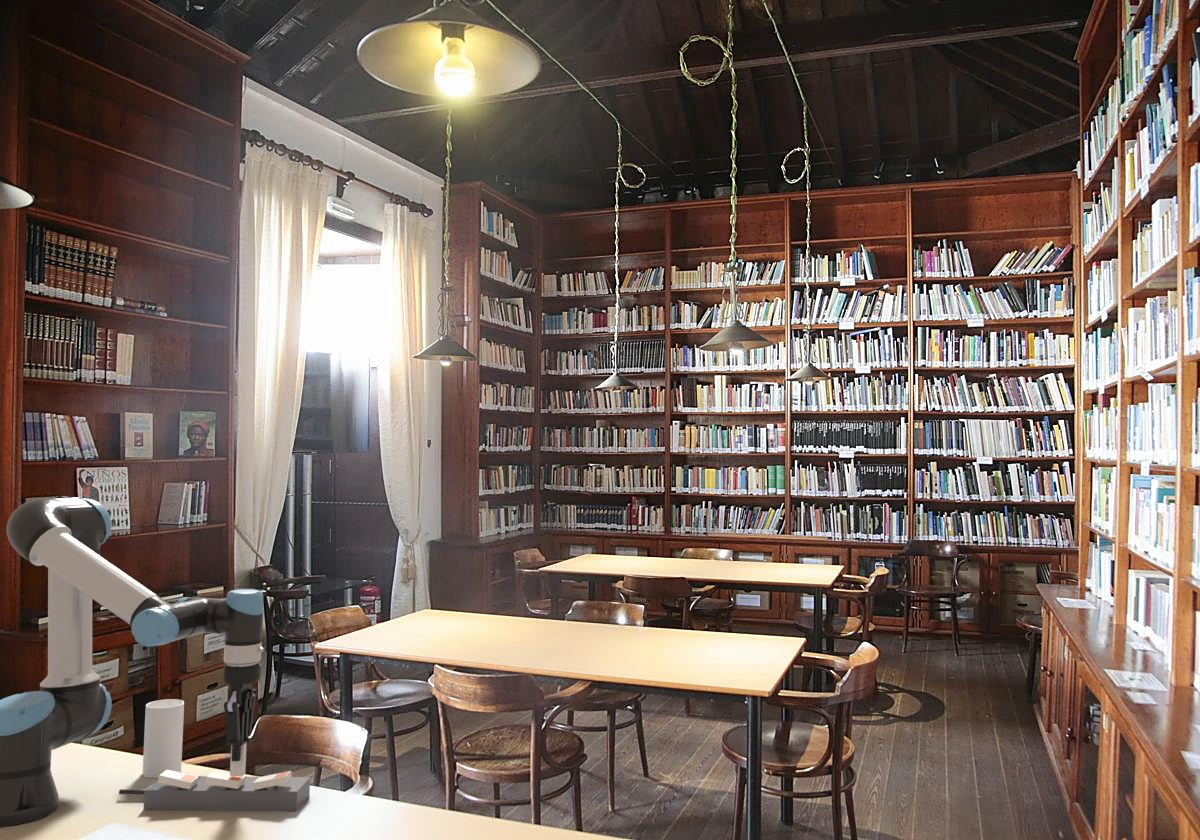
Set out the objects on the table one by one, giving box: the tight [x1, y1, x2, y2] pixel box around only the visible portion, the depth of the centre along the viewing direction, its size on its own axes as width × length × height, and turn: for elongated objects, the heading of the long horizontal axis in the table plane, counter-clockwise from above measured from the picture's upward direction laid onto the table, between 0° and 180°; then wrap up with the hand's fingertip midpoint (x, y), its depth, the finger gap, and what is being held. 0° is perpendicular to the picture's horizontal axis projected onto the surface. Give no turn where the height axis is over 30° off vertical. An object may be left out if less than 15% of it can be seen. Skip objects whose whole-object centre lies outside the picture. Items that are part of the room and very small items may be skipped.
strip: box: [118, 775, 311, 812], centre depth 193 cm, size 40×9×4 cm, turn 91°
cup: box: [142, 698, 185, 779], centre depth 212 cm, size 8×8×16 cm
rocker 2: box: [205, 770, 247, 789], centre depth 191 cm, size 7×4×2 cm, turn 91°
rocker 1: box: [157, 770, 199, 789], centre depth 191 cm, size 7×4×2 cm, turn 91°
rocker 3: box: [253, 770, 293, 790], centre depth 191 cm, size 7×4×2 cm, turn 92°
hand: (237, 774), depth 191 cm, fingers closed
